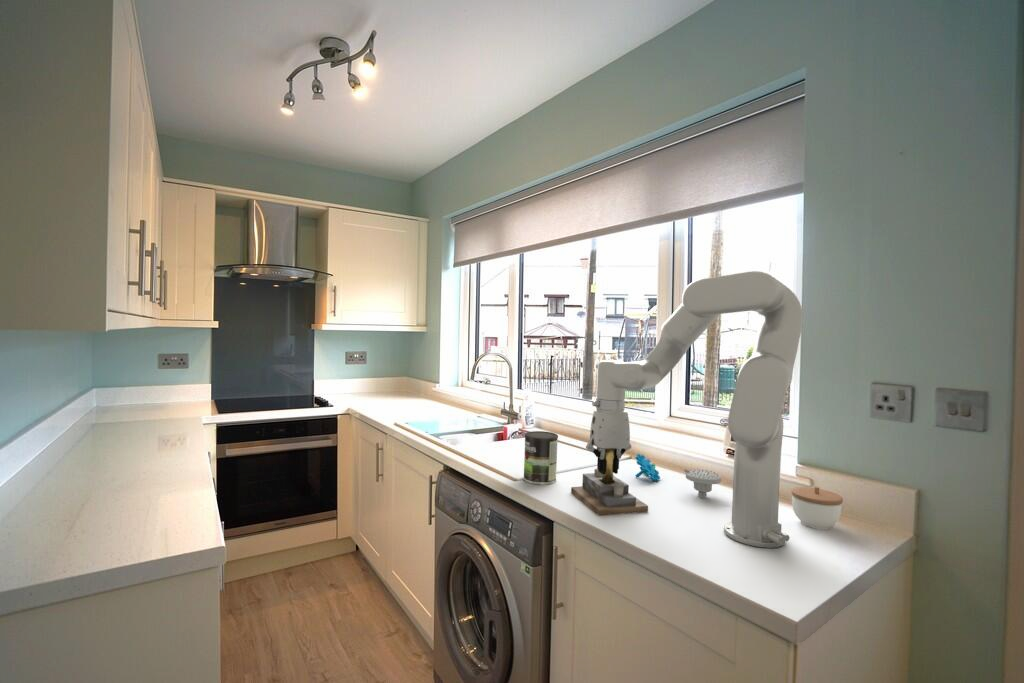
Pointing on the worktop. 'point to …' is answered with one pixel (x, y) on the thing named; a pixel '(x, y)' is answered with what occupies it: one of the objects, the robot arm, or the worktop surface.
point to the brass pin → (608, 466)
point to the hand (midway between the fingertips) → (607, 471)
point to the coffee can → (540, 457)
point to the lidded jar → (816, 506)
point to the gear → (647, 468)
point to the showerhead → (703, 480)
